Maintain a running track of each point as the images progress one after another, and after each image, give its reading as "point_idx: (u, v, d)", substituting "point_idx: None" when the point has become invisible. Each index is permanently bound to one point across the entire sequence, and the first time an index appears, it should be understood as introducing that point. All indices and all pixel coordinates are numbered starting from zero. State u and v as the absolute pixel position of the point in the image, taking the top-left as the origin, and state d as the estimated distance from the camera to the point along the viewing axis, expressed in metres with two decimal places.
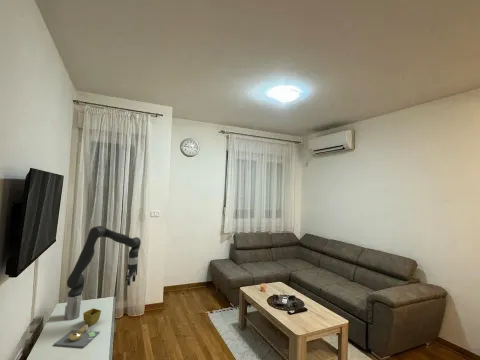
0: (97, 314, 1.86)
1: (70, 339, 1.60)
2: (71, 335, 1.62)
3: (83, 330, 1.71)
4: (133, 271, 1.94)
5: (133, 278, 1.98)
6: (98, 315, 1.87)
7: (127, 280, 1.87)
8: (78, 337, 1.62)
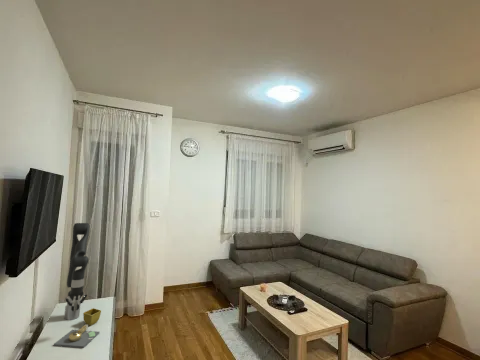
0: (97, 314, 1.86)
1: (70, 339, 1.60)
2: (71, 335, 1.62)
3: (83, 330, 1.71)
4: None
5: (73, 307, 1.70)
6: (98, 315, 1.87)
7: None
8: (78, 337, 1.62)
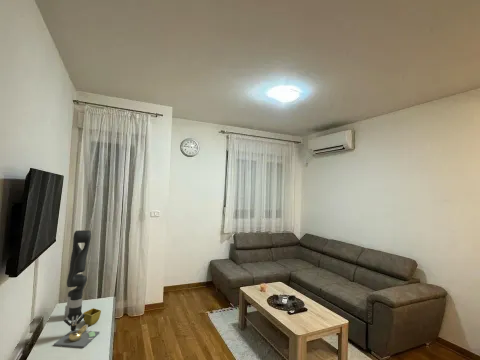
0: (97, 314, 1.86)
1: (70, 339, 1.60)
2: (71, 335, 1.62)
3: (83, 330, 1.71)
4: None
5: None
6: (98, 315, 1.87)
7: None
8: (78, 337, 1.62)
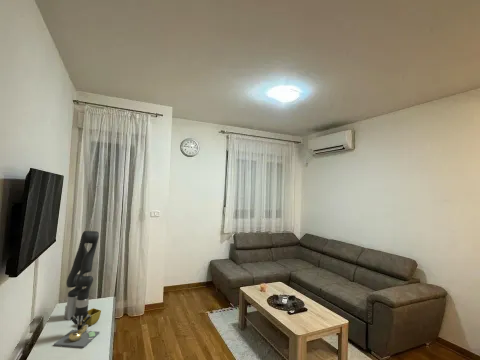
0: (97, 314, 1.86)
1: (70, 339, 1.60)
2: (71, 335, 1.62)
3: (83, 330, 1.71)
4: None
5: None
6: (98, 315, 1.87)
7: (85, 322, 1.73)
8: (78, 337, 1.62)
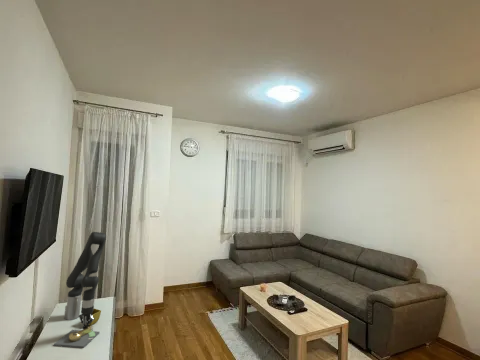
0: (97, 314, 1.86)
1: (69, 338, 1.61)
2: (71, 334, 1.63)
3: (86, 331, 1.69)
4: None
5: None
6: (98, 315, 1.87)
7: (89, 323, 1.72)
8: (75, 338, 1.61)
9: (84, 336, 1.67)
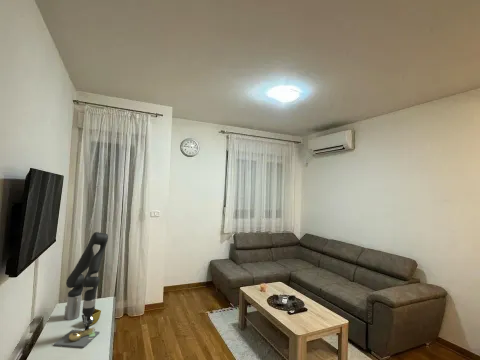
0: (97, 314, 1.86)
1: (69, 337, 1.62)
2: (71, 334, 1.63)
3: (87, 332, 1.68)
4: None
5: None
6: (98, 315, 1.87)
7: (89, 324, 1.71)
8: (73, 338, 1.61)
9: (84, 336, 1.67)
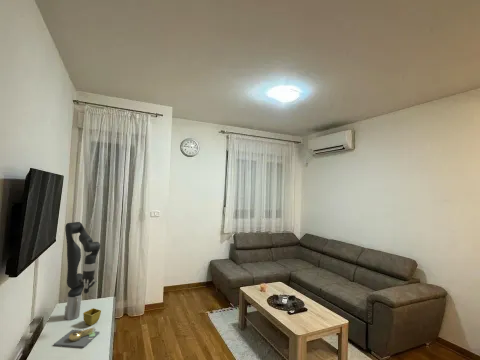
0: (97, 314, 1.86)
1: (69, 337, 1.62)
2: (71, 334, 1.63)
3: (87, 332, 1.68)
4: None
5: None
6: (98, 315, 1.87)
7: (91, 286, 1.79)
8: (73, 338, 1.61)
9: (84, 336, 1.67)
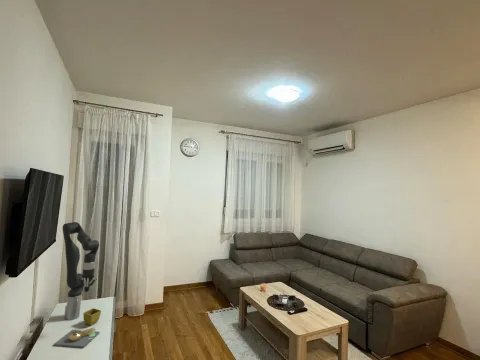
0: (97, 314, 1.86)
1: (69, 337, 1.62)
2: (71, 334, 1.63)
3: (87, 332, 1.68)
4: None
5: None
6: (98, 315, 1.87)
7: None
8: (73, 338, 1.61)
9: (84, 336, 1.67)
